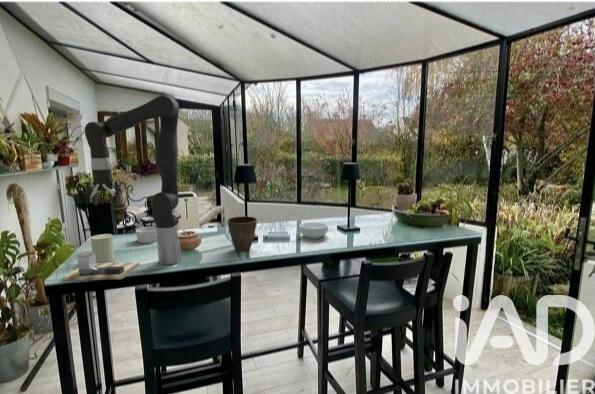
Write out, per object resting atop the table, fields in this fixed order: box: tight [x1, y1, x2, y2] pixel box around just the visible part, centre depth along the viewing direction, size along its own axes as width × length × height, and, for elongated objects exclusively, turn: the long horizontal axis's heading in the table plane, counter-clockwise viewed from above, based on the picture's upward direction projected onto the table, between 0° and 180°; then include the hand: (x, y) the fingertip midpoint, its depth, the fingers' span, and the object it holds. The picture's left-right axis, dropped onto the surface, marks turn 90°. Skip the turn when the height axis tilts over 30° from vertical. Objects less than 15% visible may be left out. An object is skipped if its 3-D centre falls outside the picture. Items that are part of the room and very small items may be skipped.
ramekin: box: [135, 225, 157, 244], centre depth 187 cm, size 13×13×7 cm
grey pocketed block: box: [76, 251, 97, 270], centre depth 137 cm, size 5×5×6 cm
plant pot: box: [226, 216, 258, 253], centre depth 169 cm, size 15×15×16 cm
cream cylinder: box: [90, 233, 116, 263], centre depth 156 cm, size 9×9×12 cm
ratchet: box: [77, 266, 124, 276], centre depth 137 cm, size 18×6×7 cm, turn 90°
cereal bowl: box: [299, 221, 329, 240], centre depth 192 cm, size 17×17×7 cm
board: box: [62, 262, 141, 281], centre depth 141 cm, size 24×16×1 cm, turn 90°
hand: (105, 204), depth 147 cm, fingers open, 8 cm apart
